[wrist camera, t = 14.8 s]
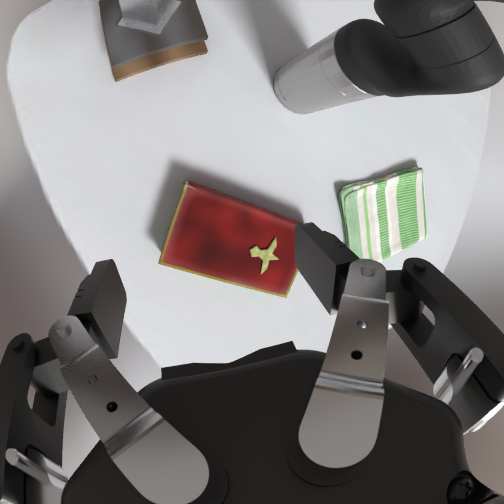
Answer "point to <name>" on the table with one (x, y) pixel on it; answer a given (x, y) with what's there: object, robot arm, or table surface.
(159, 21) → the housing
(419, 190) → the dish towel
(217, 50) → the table surface
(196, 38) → the stand
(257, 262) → the hardcover book
